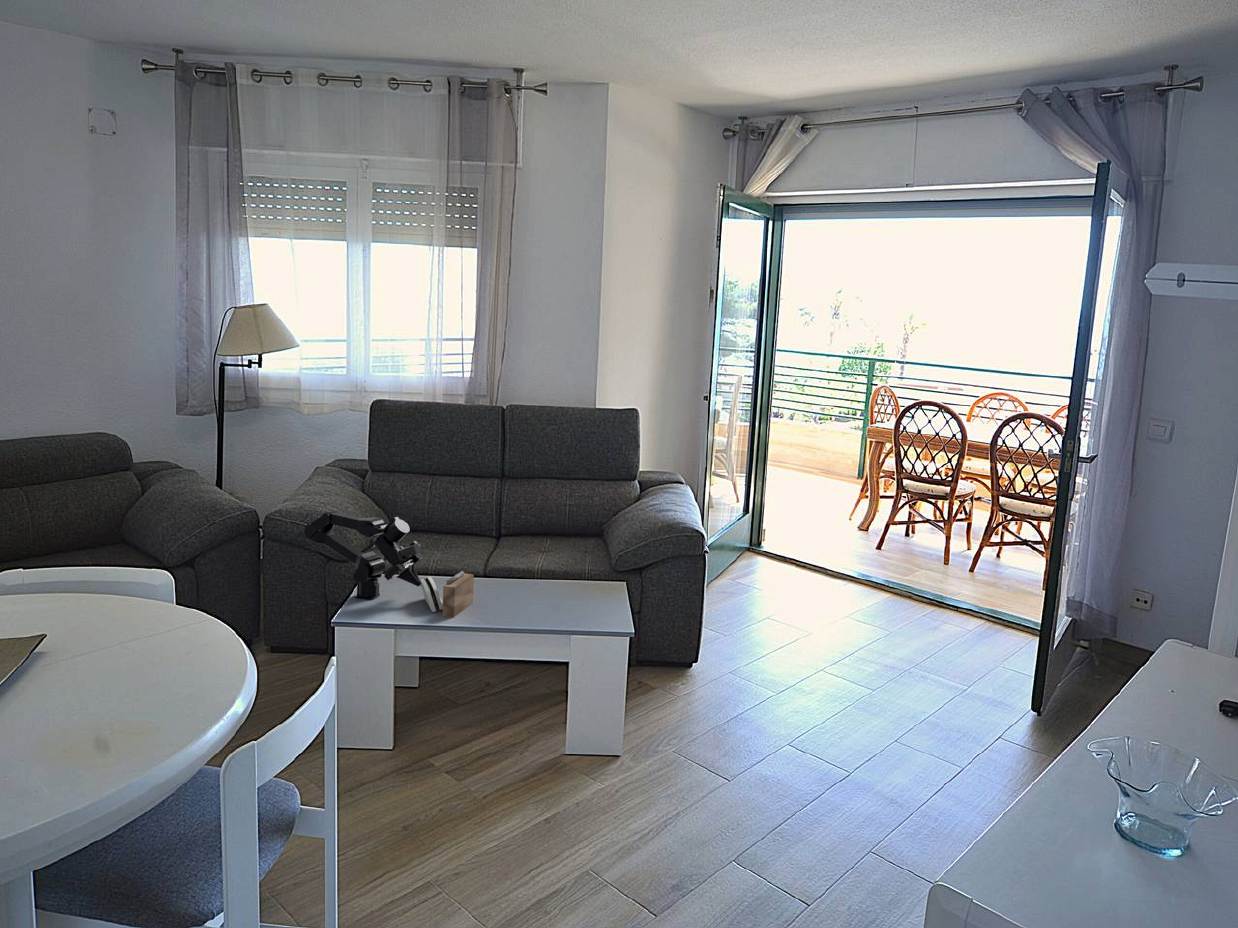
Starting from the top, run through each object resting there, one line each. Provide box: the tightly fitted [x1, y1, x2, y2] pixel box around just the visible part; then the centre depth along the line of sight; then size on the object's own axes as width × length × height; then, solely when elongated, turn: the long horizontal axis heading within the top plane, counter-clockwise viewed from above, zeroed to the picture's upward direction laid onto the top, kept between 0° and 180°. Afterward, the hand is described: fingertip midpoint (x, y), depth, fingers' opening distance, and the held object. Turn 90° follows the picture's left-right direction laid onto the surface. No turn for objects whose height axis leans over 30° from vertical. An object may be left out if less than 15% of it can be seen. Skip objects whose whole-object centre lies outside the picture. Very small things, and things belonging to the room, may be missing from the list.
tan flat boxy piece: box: [441, 570, 475, 618], centre depth 312 cm, size 4×17×11 cm, turn 168°
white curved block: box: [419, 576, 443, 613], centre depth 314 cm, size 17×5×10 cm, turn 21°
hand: (419, 585), depth 314 cm, fingers closed
